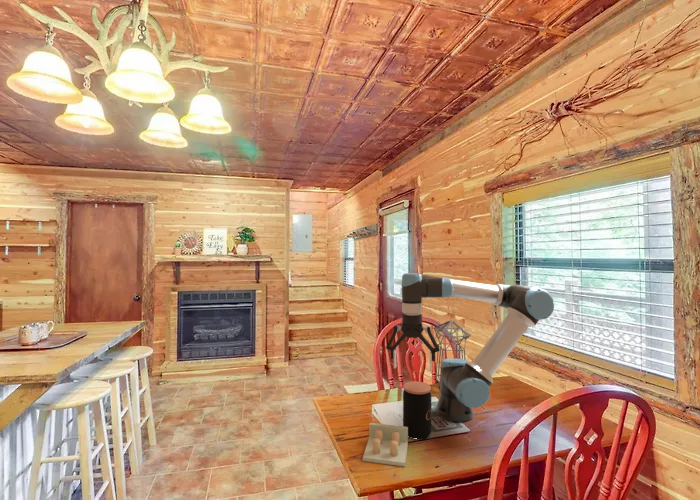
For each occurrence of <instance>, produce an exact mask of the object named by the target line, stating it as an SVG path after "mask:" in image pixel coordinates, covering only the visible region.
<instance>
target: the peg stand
mask: <svg viewBox="0 0 700 500" xmlns="http://www.w3.org/2000/svg"><path fill="white" fill-rule="evenodd" d="M368 426H369V427H368V428H369V429H368V430H369V431H368V435H369V436H368V441H367V443H366V445H365V446H366V447H365V450H364V452H363V455H362V461H363V462H369V463H375V464H376V463H377V464H382V465H383V464H384V465H389V466H390V465H392V466H399V467H406V463H407V462H406V461H407V455H408V453H407V452H408V447H409V446H408V445H409V437H408V427H404V426H403V425H402V426H401V425H396V424H395V425H394V424H393V425H392V424H384V423H377V422H375V423H374V422H369V424H368Z"/></svg>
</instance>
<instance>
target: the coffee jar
mask: <svg viewBox="0 0 700 500" xmlns="http://www.w3.org/2000/svg"><path fill="white" fill-rule="evenodd" d="M402 387H403V388H402V389H403V391H402V426H404V427H408V436H409V437H412V438H417V439H422V440H426V439H428V438H429V437H430V436H431V434H432V393H431V391H432V386H431V385H430V384H429V383H427V382H422V381H413V380H412V381H407V382H405V383H403V386H402ZM428 436H429V437H428ZM409 437H408V438H409ZM427 437H428V438H427ZM412 438H411V439H412Z"/></svg>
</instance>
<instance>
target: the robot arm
mask: <svg viewBox="0 0 700 500" xmlns="http://www.w3.org/2000/svg"><path fill="white" fill-rule="evenodd" d="M400 286H401V300H402V301H401V312H402V314H401V317H402V318H401V319H402V321H401V322H402V323H401V325H398V324H395V325H394V327H393V332H392V334H391V336H390V339H389V340H388V342H387V344H386V346H385V349H386V350H389V352H390V358H391V360H393V369H397V349H396V348H398V346H399V345H400V344H401V342H402V341H404V339H406V338H408V339H411V338H413V339H417V338H418V339H419V340H420V341H421V342H422V343H423V344H424V345H425V346H426V348H427V349H428V350H429V371H433V362H435V361H436V359H435V358H436V353H437V352H439V353H440V347H439V346H440V345H439V346H438V344H439V343H437V340H436V339H435V337H434V334H433V333H432V330H431V329H432V328H431V326H430V325H427V326H423V315H422V312H423V309H422V308H423V306H422V305H423V301H422V299H423V298H424V299H426V298H427V299H428V298H449V297H450V298H457V299H464V300H470V301H478V302H485V303H491V304H493V306H495V307H496V306H497V307H501V308H504V309H507V315H506V316H505V317H504V319H502V321H501V323H500V324H499V326H498V327H497V328H496V330H495V331H494V332H493V334H492V335H491V336H490V337H489V339H488V340H487V342H486V343H485V344H484V346H483V347H482V348H481V349H480V351H479V353H478V354H477V355H476V357H474V359H473V361H468V360H467V359H465V360H464V358H463V359H462V358H460V359H459V358H457V359H456V358H446V359H445V358H443V360H442V361H441V360H440V367H439V375H440V376H439V379H440V380H439V381H440V382H441V388H440V395H439V396H438V397H439V398H438V400H437V403H436V407H435V408H436V414H437V415H438V416H439V417H440V418H443V419H444V420H448V421H450V422H456V423H457V422H460V423H461V422H468V421H470V420H472V419H473V417H474V410H473V409H474V408H480V407H482V406H484V405H485V404H487V403H488V401H489V399H490V396H491V393H490V392H491V390H490V387H491V386H492V385H493V383H494V379H493V376H494V375H495V373H496V372H497V370H498V369H499V368H500V366H501V365H502V364H503V362H505V360H506V359H507V356H509V354H510V353H511V352H512V350H513V349H514V348H515V346H516V345H517V343H518V342H520V339H521V338H522V336H523V335H524V334H525V333H526V331H527V330H528V329H529V328H533V327H536V325H537V324H538V322H539V321H541V320H546V319H548V318H550V316H551V315H552V314H553V312H554V310H555V309H554V308H555V303H554V298H553V297H552V295H551V293H550V292H548V291H547V290H545V289H543V288H540V287H538V286H534V287H533V286H528V285H525V284H524V285H523V284H505V283H504V284H503V283H496V284H489V283H487V284H486V283H480V282H472V281H468V280H467V281H466V280H461V279H460V280H459V279H453V278H449V277H440V276H439V277H438V276H431V275H427V274H421V273H417V272H416V273H413V272H411V273H410V272H408V273H403V274H402V275H401V285H400ZM400 330H401V332H402V334H401V335H400V337H399V338H397V340H396V341H395V342H394V343H393V341H394V339H395V337H396V335H397V333H398V332H399V331H400ZM423 331H425V333H427V335H428V337H429V339H430V340H431V341H430V342H431V343H432V344H430V342H429V340H427V339H426V337H425V336H424V334H422V333H423ZM392 343H393V344H392ZM432 345H433V346H432Z"/></svg>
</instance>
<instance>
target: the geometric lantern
mask: <svg viewBox="0 0 700 500" xmlns="http://www.w3.org/2000/svg"><path fill="white" fill-rule="evenodd" d="M431 329H433V330H434V332H435V338H437V340H438V342H439V343H437V344H438V346H439V349H440V351H439V352H436V353H437V354H436V365H435V375H434V376H435V378H436V381H437V382H438V384H439V388H440V389H441V382H440V366H441V361H442V360H444V359H447V352H448V351H451V352H452V351H453V352H455V359H463V360H466V346H464V347H463V346H462V345H461V343H462V341H463V340H464V344H466V342H467V340H468V339H469V338H470V337H471V336H472V334H470V333H469V332H468V331H467V330H465V328H463V327H462V326H461V325H460V324H458V323H457V322H456V321H454V320H453V319H452V320H451V319H450V320H448V321H445V322H444V323H441V324H438V325H436V326H434V327H432V328H431ZM447 330H450V332H449V333H447ZM453 330H454V331H453ZM458 330H460V331H461V333H462V335H458V333H457V331H458ZM454 333H455V336H453V334H454ZM441 337H442V338H441ZM449 337H450V338H449ZM440 338H441V341H440ZM444 338H446V339H447V340H449V341H450V343H449V342H447V343H446V342H444V343H443V339H444ZM452 338H453V339H452ZM458 338H460V339H459V340H458ZM453 340H454V341H453ZM442 345H448V346H447V347H446V349H445V348H443V347H442ZM451 345H455V349H448V348H449V347H450V346H451ZM458 356H459V357H458ZM443 357H444V358H443Z"/></svg>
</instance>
